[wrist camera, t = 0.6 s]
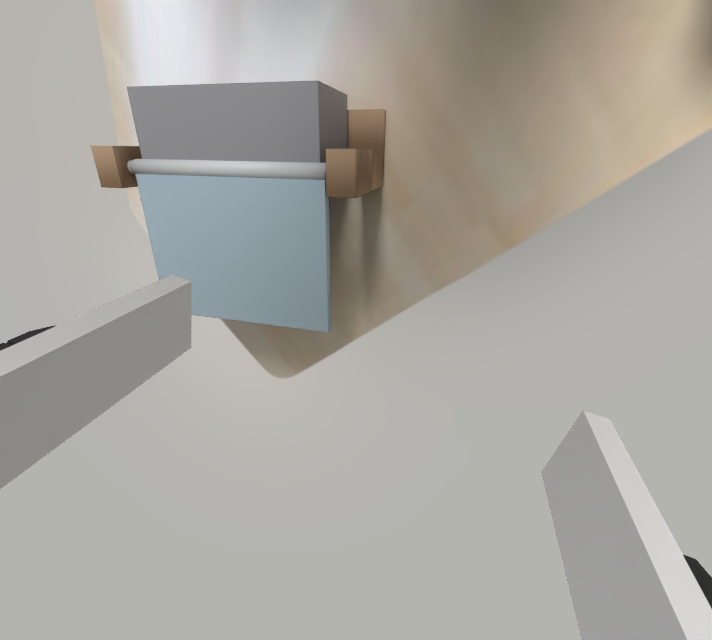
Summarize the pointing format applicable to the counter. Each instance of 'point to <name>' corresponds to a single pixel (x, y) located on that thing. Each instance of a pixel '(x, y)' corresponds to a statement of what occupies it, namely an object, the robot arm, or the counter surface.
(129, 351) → the robot arm
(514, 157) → the counter surface
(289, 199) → the trapdoor
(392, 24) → the counter surface
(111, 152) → the frame
